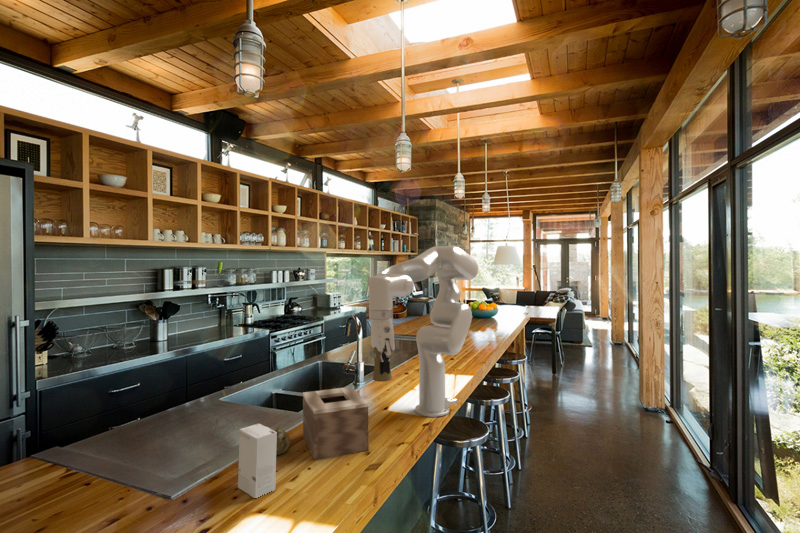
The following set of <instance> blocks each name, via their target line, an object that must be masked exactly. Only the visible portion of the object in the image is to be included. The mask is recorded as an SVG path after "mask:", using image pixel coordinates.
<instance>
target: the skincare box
mask: <svg viewBox="0 0 800 533" xmlns="http://www.w3.org/2000/svg"><path fill="white" fill-rule="evenodd" d="M273 430H274V429H271V428H270V427H269V426H265V425H263V424H261V423H256V424H252V425H250V426H246V427H242V428H239V440H238V441H239V442H238V444H239V445H238V469H237V470H238V471H237V472H238V476H237V477H238V478H237V488H238V489H239V490H241V491H243V492H244V493H247V495H249V496H250V497H252V498H253V499H254V498H257V499H259V498H261V497H263V496H265V495H268V494H270V493H272V492H275V491H276V483H277V482H276V481H277V480H276V479H277V478H276V476H277V474H276V472H277V455H276V445H277V432H275V431H273ZM271 491H272V492H271ZM269 492H270V493H269ZM267 493H268V494H267ZM264 494H265V495H264ZM262 495H263V496H262ZM260 496H261V497H260ZM258 497H259V498H258Z"/></svg>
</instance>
